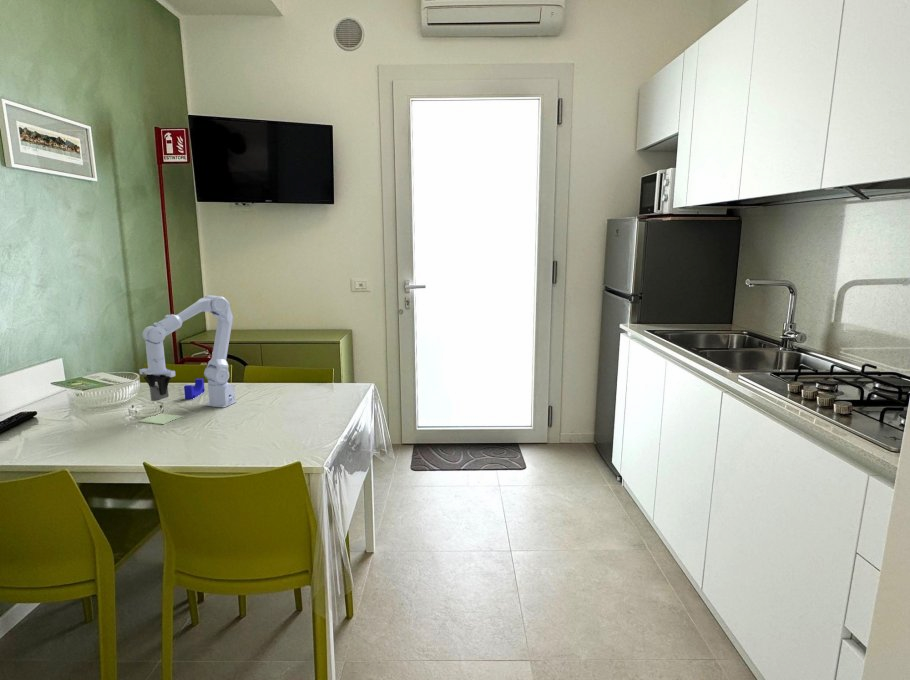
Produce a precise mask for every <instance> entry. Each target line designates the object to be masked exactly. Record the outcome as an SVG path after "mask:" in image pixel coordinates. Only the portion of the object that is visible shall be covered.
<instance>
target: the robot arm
mask: <svg viewBox="0 0 910 680" xmlns="http://www.w3.org/2000/svg"><path fill="white" fill-rule="evenodd" d="M230 306H231V303H230V302H229V301H228V299H227V298H226V297H224V296H222V295H221V296H219V295H213V294H208V295H206V296H204V297H201V298H199V299H198V300H196V301H195V302H194V303H192V304H191V305H190V306H187V308H185V309H183V310H182V311H180V312H179V313H177V314H173V313H171V314H166V315H165V316H164V318H163V319H161V320H159V321H157V322H156V321H155V322H154V323H153V325H150V326H147V327H145V328H144V329H143V330H142V333H141V337H142V339H143V340H145V342H144V343H145V352H146V363H147V368H141V369H140V368H139V369H138V371H139V375H146V376H144V377H143V379H144V380H145V381H146V383H147V385H148V386H149V388H150V387H151V386H154V385H155V382H157V383H158V386H159V391H160V395H165V394H166V392H167V387H168V386H169V383H170V381H171V379H172V378H173V377H176V371H175V370H171V369H168V368H167V367H166V357H165V349H164V340H165V339H166V337H167V336H169V335H170V334H172V333H173V332H175V331H177V330H179V329H181V327H182V325H183V322H185V321H187V320H189V319H191V318H193V317H194V316H197V315H198V314H200V313H202V312H205V313H207V312H208V313H212V315H213V316H214V317H215V318H216V319H217V324H216V330H215V335H214V336H215V337H214V344H213V348H212V353H211V354H212V355H211V359H210V360H209V361H207V366H206V367H205V369H204V372H203V375H204V377H205V379H207V390H208V401H209V402H208V403H204V406H205V407H206V406H207V407H214V408H215V407H217V408H226V407H229V406H231V405H233V404H236V403H237V400H236V392H235V387H234V385H233V384H231V383H229V382H228V381H229V378H230V371H229V368H230V367H229V363H228V361H227V357H228V351H229V345H230V344H229V343H230V338H231V332H232V326H233V321H234V315H233V313H232V310H231V307H230ZM168 388H169V387H168Z"/></svg>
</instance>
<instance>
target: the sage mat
mask: <svg viewBox="0 0 910 680" xmlns="http://www.w3.org/2000/svg"><path fill="white" fill-rule="evenodd" d="M157 414H158V413H157ZM150 416H151V417H150ZM150 416H147V417H145V418H143V419H139V420H138V422H139V423H144V424H152V423H154V424H153V425H161V424H164V425H166V424H169V423H171V422H172V420H173V421H175V419H176V420H178V419H181V418H183V416H182V415H177V414H167V413H160V414H158V415H156V416H152V415H150ZM170 421H171V422H170Z"/></svg>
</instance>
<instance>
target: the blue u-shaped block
mask: <svg viewBox="0 0 910 680" xmlns="http://www.w3.org/2000/svg"><path fill="white" fill-rule="evenodd" d="M183 388H184V389H183V390H184V399H192V400H194V399H195V397H196V398H197V397H198V395H199V396H200V395H202V394H203V393H205V392H204V391H205V380H204V378H196V379H194V385H193V384H190V385H189V384H188V385H187V384H186V385H183ZM201 393H202V394H201ZM193 398H194V399H193Z"/></svg>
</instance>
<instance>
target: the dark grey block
mask: <svg viewBox="0 0 910 680" xmlns="http://www.w3.org/2000/svg"><path fill="white" fill-rule="evenodd" d="M149 393H150V401H152V402H158V401H161V400H164V399H166V398H169V387H167V392H166V394H165V395H160V391H159V386H158V383H157V382H155V385H154V386H151V387H150V386H149Z"/></svg>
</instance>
